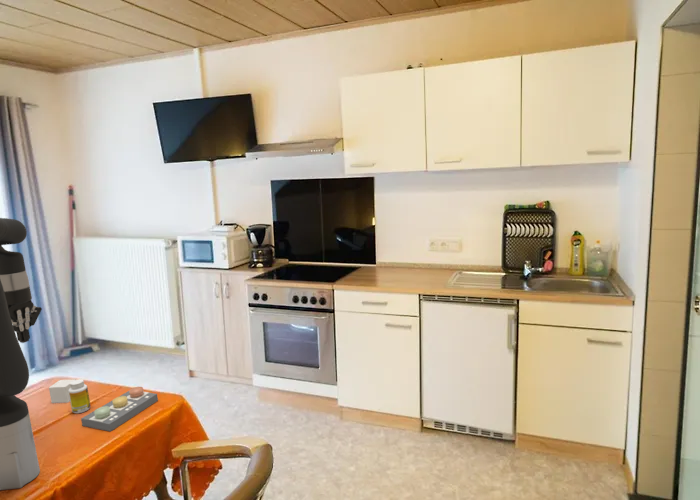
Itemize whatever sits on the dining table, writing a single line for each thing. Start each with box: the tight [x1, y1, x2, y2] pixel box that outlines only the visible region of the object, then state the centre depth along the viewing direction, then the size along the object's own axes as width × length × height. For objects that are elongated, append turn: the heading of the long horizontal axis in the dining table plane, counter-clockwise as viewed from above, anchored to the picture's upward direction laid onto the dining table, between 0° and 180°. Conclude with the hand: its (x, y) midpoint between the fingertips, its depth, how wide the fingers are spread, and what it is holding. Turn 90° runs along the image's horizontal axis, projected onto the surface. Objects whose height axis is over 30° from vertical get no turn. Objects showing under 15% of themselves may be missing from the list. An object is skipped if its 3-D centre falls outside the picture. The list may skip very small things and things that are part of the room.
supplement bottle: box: [69, 378, 91, 414], centre depth 158 cm, size 6×6×10 cm
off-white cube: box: [48, 378, 77, 404], centre depth 168 cm, size 6×6×6 cm
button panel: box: [80, 390, 159, 433], centre depth 156 cm, size 20×12×3 cm, turn 159°
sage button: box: [93, 405, 110, 418], centre depth 149 cm, size 4×4×2 cm
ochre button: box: [111, 395, 128, 407], centre depth 155 cm, size 4×4×2 cm
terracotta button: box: [128, 386, 145, 397], centre depth 162 cm, size 4×4×2 cm
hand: (24, 341), depth 144 cm, fingers closed
